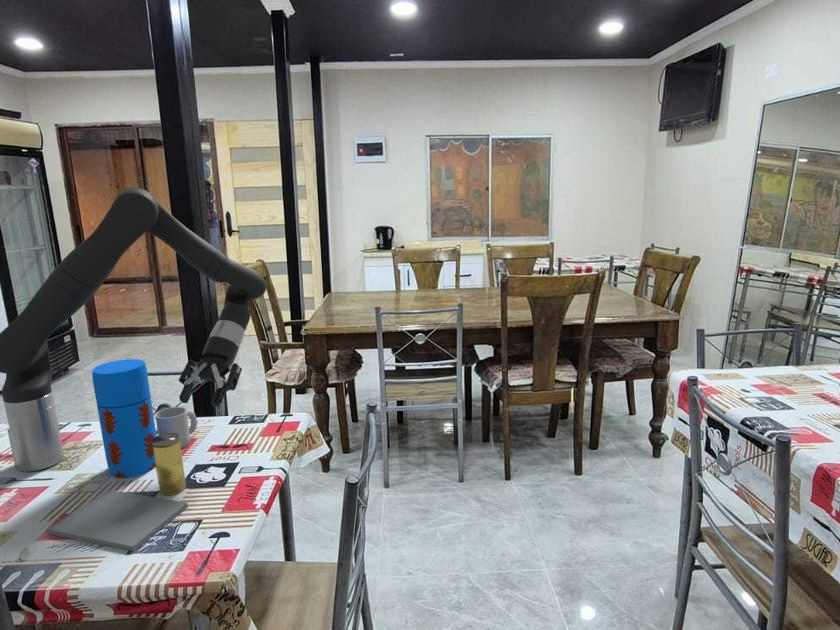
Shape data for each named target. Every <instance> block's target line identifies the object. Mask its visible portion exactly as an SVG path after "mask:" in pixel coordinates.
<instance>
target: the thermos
mask: <svg viewBox="0 0 840 630" xmlns="http://www.w3.org/2000/svg"><path fill="white" fill-rule="evenodd" d="M91 373H92V377H91V379H92V385H93V389H94V395H95V402H96V403H95V404H96V407H97V408H96V409H97V412H98V413H97V414H98V418H99V425H100V426H99V427H100V430H101V431H100V432H101V437H102V443H103V449H104V456H105V459H106V464H107V467H108V472H109V474H110V475H111V477H112V478H113V477H114V478H118V479H127V478H132V477H133V478H134V477H138V476H141V475H143V474H146V473H148V472H151V471H153V470H154V469H156V464H155V457H154V451H153V446H152V439H153V438H155V437H156V436H157V428H156V421H155V415H154V409H153V403H152V395H151V389H150V383H149V375H148V369H147V364H146V361H145V360H142V359H138V358H128V359H127V358H126V359H118V360H113V361H108V362H105V363H102V364H100V365H97V366H95V367H93V368H92V372H91Z"/></svg>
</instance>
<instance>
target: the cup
mask: <svg viewBox="0 0 840 630" xmlns="http://www.w3.org/2000/svg"><path fill="white" fill-rule="evenodd" d="M154 414H155V415H154V418H155V425H156V432H157V436H158V435H161V434H165V433H178V434H179V435H180V446H181V449H183V448H186V447H188V445H189V444H190V442H191V435H192V434H193V433H194V432H195V431H196V430H197V427H198V419H197V416H196V415H197V414H195V412H194V411H192V410H191V409H190V410H187V408H186V407H183V406H173V407H172V406H170V407H168V408H163V409H160V410H159V411H157V412H156V413H154ZM188 417H189V419H188ZM189 420H190V426H189Z"/></svg>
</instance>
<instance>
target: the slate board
mask: <svg viewBox="0 0 840 630" xmlns="http://www.w3.org/2000/svg"><path fill="white" fill-rule="evenodd" d="M188 507H189V505H188V502H185V501H179V500H174V499H168V498H162V497H156V496H149V495H142V494H138V493H131V492H126V491H125V492H124V491H119V490H114V489H108V490H106V491H105V492H103V493H102V494H100V495H98V496H97V497H95V498H94V499H92V500H91V501H89V502H88V503H86V504H85V505H83V506H81V507H80V508H78V509H77V510H75V511H74V512H72V513H70V514H69V515H68V516H66V517H64V518H63V519H61V520H60V521H58V522H56V523H55V524H53V525H52V526H50V527H49V528H48V529H47V532H48V535H52V536H57V537H62V538H67V539H71V540H77V541H81V542H86V543H92V544H96V545H101V546H105V547H111V548H115V549H121V550H125V551H131V552H135V551H136V550H138V548H140V547H142V545H144V544H145V543H147V541H148V540H149V539H151V538H152V537H153V536H154V535H156V534H157V533H158V532H159V531H161V530H162V529H164V527H165V526H167V525H168V524H169V523H170V522H172V521H173V520H174V519H176V518H177V517H178V516H179V515H180V514H182V513H183V512H185V510H187V508H188Z"/></svg>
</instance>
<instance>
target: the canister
mask: <svg viewBox="0 0 840 630" xmlns="http://www.w3.org/2000/svg"><path fill="white" fill-rule="evenodd" d="M152 446H153V451H154V457H155V464H156V467H155V470H156V477H157V481H158V482H157V483H158V489H159V494H160V495H162V496H173V495H177V494H180V493H181V492H183V491H184V490H185V489H186V487H187V485H186V477H185V470H184V462H183V455H182V454H183V453H182V448H181V446H180V435H179V434H178V433H165V434H161V435H158V434H157V435H156V437H155V438H153V439H152Z"/></svg>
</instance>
